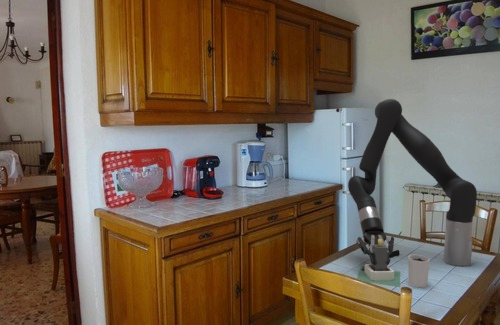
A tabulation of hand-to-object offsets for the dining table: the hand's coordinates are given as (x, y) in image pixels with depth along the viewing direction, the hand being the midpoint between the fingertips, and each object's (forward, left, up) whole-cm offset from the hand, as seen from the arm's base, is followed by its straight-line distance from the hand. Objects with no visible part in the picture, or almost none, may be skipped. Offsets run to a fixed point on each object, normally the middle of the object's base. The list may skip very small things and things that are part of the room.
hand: (381, 264), depth 135 cm
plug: (+1, -2, -4) cm, 5 cm away
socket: (+1, -2, -5) cm, 5 cm away
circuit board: (+1, -2, -6) cm, 6 cm away
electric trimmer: (-1, -24, -7) cm, 25 cm away
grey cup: (-12, 0, -6) cm, 13 cm away
